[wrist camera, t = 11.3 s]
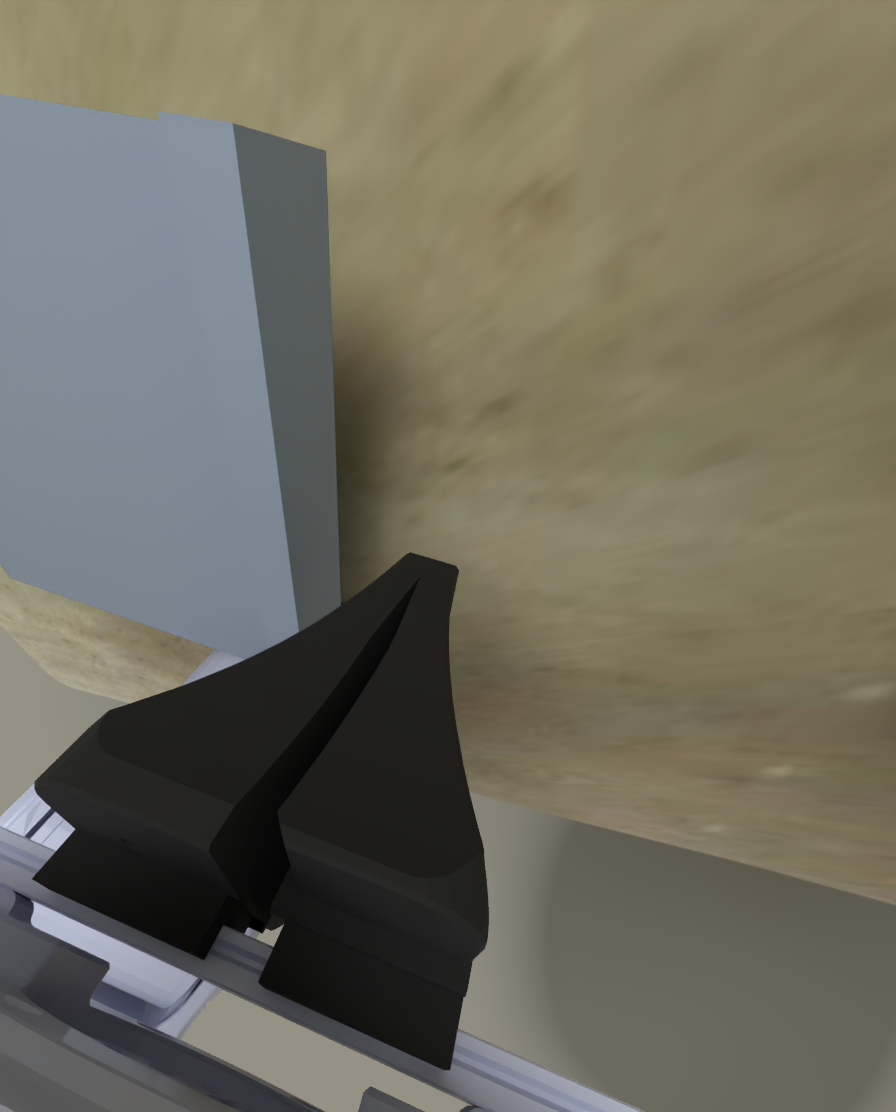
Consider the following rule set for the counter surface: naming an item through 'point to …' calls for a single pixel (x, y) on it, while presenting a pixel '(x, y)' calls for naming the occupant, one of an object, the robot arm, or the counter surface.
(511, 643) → the counter surface
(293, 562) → the lid
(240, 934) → the robot arm
